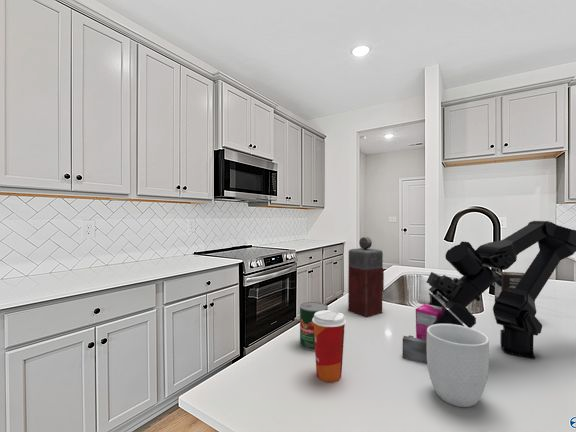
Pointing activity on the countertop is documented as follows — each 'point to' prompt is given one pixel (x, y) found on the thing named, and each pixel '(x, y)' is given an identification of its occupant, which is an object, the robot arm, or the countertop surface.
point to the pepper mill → (365, 279)
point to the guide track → (414, 349)
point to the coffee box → (508, 282)
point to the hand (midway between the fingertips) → (425, 325)
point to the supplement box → (426, 319)
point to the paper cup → (329, 344)
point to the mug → (457, 363)
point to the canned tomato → (309, 323)
